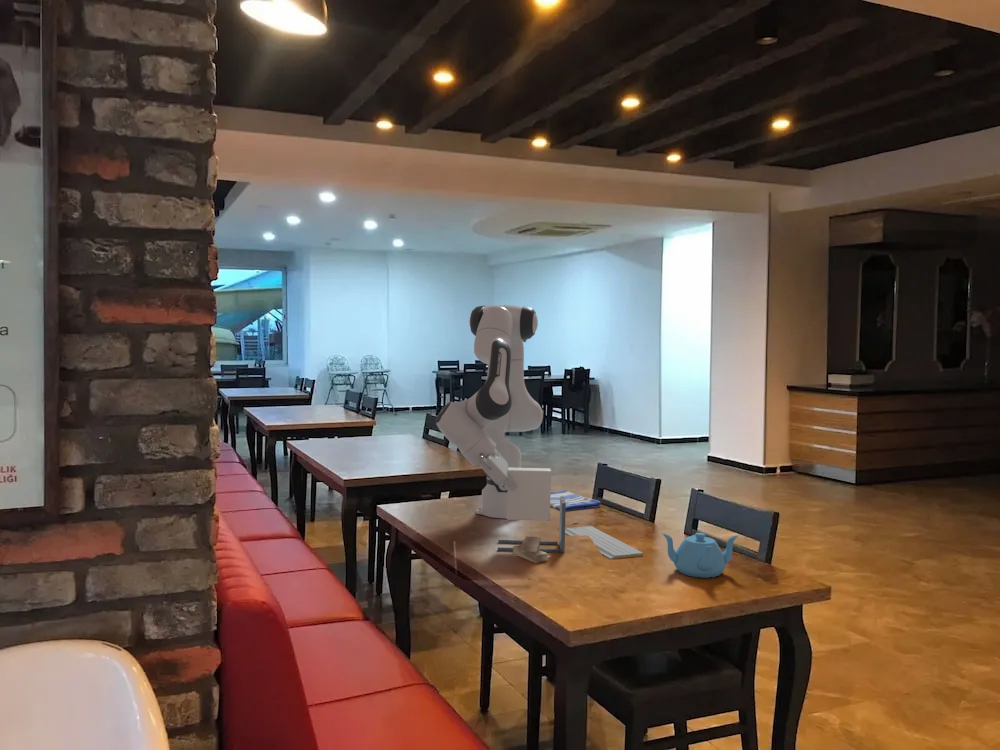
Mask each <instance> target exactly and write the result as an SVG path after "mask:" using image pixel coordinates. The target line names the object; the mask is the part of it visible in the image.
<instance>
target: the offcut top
mask: <svg viewBox="0 0 1000 750" xmlns="http://www.w3.org/2000/svg"><path fill="white" fill-rule="evenodd" d="M523 540H524V541H523V543H522V544H521V545H522V548H521V552H528V553H537V550H538V548H539V547H540V546H541V544H540V541H541V536H528V535H526V536H525V538H524V539H523Z"/></svg>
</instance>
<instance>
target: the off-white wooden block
mask: <svg viewBox="0 0 1000 750" xmlns="http://www.w3.org/2000/svg"><path fill="white" fill-rule="evenodd" d="M508 477H509V478H510V479H511V480H512V481H513V482H514V483H515V484H516V485H517V488H516V489H515V490H514V491H512V490H511V489H510V488H509V487H508V491H507V518H506V520H508V521H510V520H511V521H536V522H537V521H539V522H541V521H542V522H544V521H545V522H547V521H548V522H550V520H551V507H550V497H551V491H552V490H551V489H552V488H551V487H552V469H551V468H549V467H548V468H547V467H546V468H545V467H544V468H542V467H541V468H540V467H521V468H512V467H508Z"/></svg>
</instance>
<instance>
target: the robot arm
mask: <svg viewBox="0 0 1000 750" xmlns="http://www.w3.org/2000/svg"><path fill="white" fill-rule="evenodd" d="M538 323H539V321H538V316H537V313H536V311H535V310H534V308H532V307H531V306H530V307H529V306H524V305H522V306H519V305H518V306H517V305H510V304H503V305H479V306H476V307H475V308H474V309H473V310H472V311H471V312H470V317H469V327H470V331H471V334H473V335H474V337H475V338H474V343H473V353H474V354H475V357H476V359H478V360H479V361H480V362H481V363H483V364H486V365H488V366H487V374H486V380H485V382H484V384H483V385H482V386H481V387H480V388H479V389H478V391H476V392H475V393H474V394H473V395H472V396H471V397H469V398H466V399H464V400H461V401H449V402H447V403H446V404H445V405H444V406H443V407H442V409H440V411H439V412H438V414H437V416H436V418H435V424H436V426H437V428H438V430H439V431H440V432H441V434H443V435H442V436H444V437H445V438H446V439H447V440H448V441H449V442H450V444H452V445H454V446H455V447H456V448H457V449H459V452H460V454H461V455H462V456H463V457H464V458H465V459H466V460H467V461H468V462H469V463H470V464H471V465H472V466H473V467H476V466H479V467H480V468H481V469H482V470H483V471H484V473H485V474H486V485H485V487H484V488H483V489H482V490H481V506H479V507H478V508H477V509H476V511H475V514H476V515H482V516H484V517H489V518H493V519H494V518H495V519H507V491H508V487H509V488H510V489H511V490H512V491H514V490H515V489H516V488H517V485H516V484H515V483H514V482H513V481H512V480H511V479H510V478H509V477H508V467H512V468H522V452H521V449H520V448H519V447H518V446H517V445H516V444H514V443H513V442H511V441H508V440H507V439H506V436H505V433H520V432H521V433H523V432H524V433H525V432H529V431H534V430H537V429H538V428H539V427H540V426H541V424H542V423H543V419H544V413H543V409H542V406H541V405H540V404H539V402H538V401H536V400H535V399H534V398H533V397H532V396H531V394H530V393H529V392H528V389H527V387H526V384H525V376H524V375H525V371H524V366H525V365H524V364H525V363H524V362H525V361H524V360H525V351H524V349H525V348H524V343H526V342H527V341H528V340H529V339H531V338H532V337H533V336H535V335H536V331H537V329H538V325H539V324H538Z"/></svg>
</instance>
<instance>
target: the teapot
mask: <svg viewBox="0 0 1000 750" xmlns="http://www.w3.org/2000/svg"><path fill="white" fill-rule="evenodd" d="M661 534H662V535H663V536H664V538H665V539H666V542H667V556H668V558H669V559H670V560H671V562H673V565H674V567H675V568H676V569H677V571H679V573H681V574H682V575H685V576H689V577H694V578H699V577H700V579H708V578H710V577H712V578H717V577H719V576H720V575H721V574H723V572H724V571H725V569H726V565H727V564H729V562H730V561H731V559H732V556H733V548H734V547H733V544H734V542H735V541H736V539H738V537H739V535H732V536H730V537H729V538H728V540H727V541H726V547H725V550H724V551H722V549H721V548H720V546H719V544H718V542H717V541H716V540H715V539H714V538H711V537H708V536H706V535H707V534H705V532H695V534H692V535H690V536H686V537H685V538H684V539H683V540H682V541H681V543H680V544H679V546H678V548H677V549H676V550H675V548H674V541H673V537H671V536H670V535H669V534H666V533H661ZM716 576H717V577H716ZM710 579H711V578H710Z"/></svg>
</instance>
